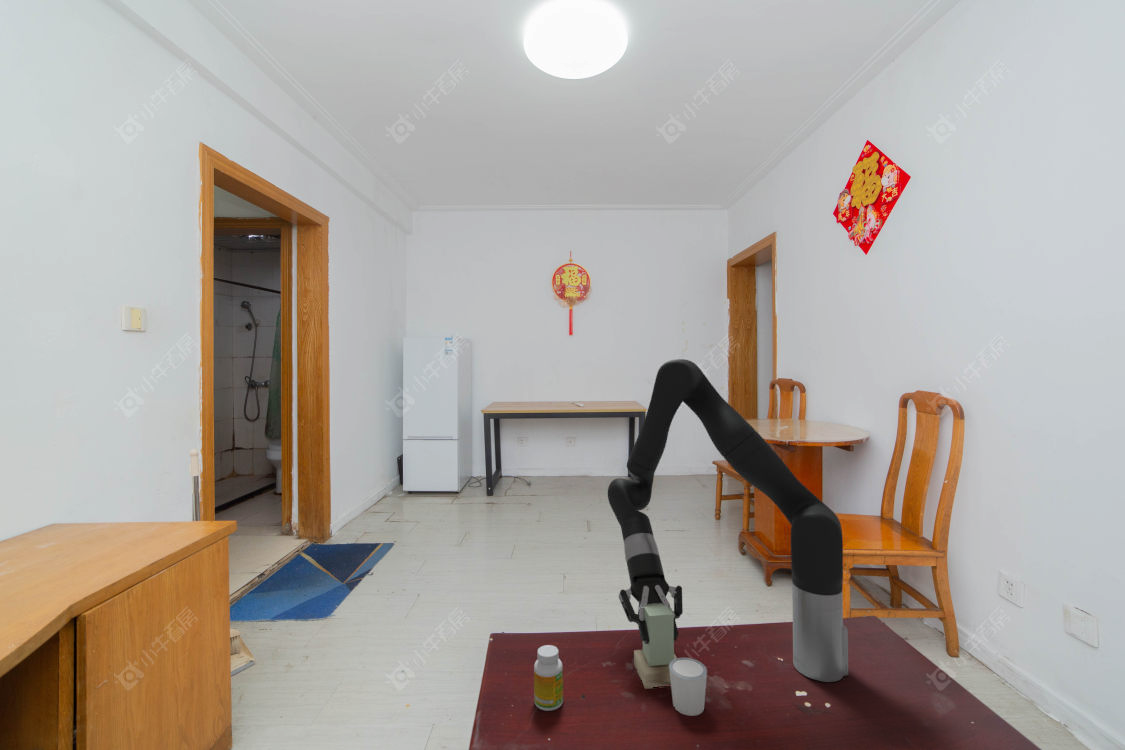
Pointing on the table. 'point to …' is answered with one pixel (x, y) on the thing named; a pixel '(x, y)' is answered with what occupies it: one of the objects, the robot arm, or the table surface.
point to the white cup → (688, 685)
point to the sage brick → (659, 634)
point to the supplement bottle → (548, 679)
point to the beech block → (651, 671)
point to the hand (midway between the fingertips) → (660, 641)
